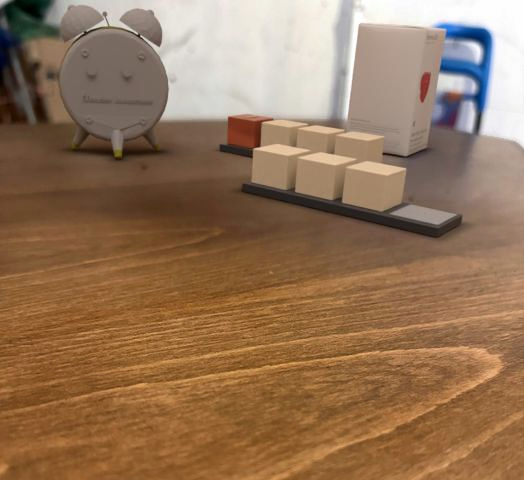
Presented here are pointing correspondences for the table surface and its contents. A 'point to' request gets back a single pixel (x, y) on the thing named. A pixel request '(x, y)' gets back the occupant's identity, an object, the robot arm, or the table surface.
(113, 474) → the table surface
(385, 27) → the white product box
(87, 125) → the alarm clock
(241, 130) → the orange block
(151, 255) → the table surface
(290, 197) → the right rack
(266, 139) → the left rack
